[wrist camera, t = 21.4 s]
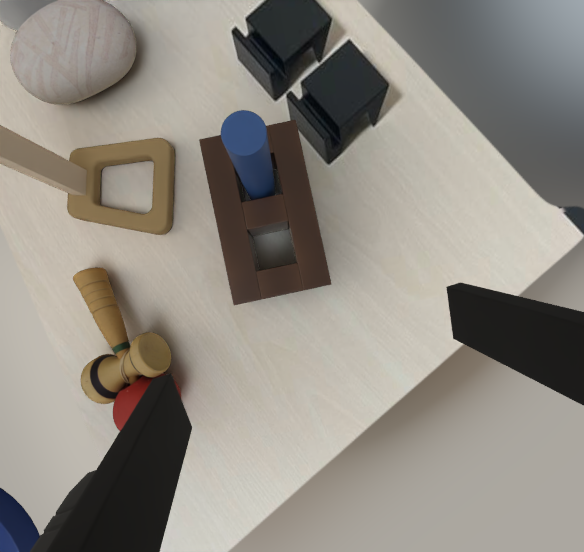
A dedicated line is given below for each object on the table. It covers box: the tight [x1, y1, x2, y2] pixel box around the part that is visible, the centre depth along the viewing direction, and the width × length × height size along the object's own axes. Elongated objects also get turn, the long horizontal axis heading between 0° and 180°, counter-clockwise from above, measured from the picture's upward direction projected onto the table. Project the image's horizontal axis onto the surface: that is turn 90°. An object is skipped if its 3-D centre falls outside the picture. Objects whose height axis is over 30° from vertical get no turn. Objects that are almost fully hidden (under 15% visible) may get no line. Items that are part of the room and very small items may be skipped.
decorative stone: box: [11, 0, 136, 105], centre depth 28 cm, size 13×9×5 cm
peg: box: [221, 110, 276, 200], centre depth 25 cm, size 3×3×12 cm
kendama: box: [73, 268, 181, 431], centre depth 28 cm, size 8×6×18 cm
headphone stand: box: [0, 125, 175, 235], centre depth 19 cm, size 10×11×22 cm
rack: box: [199, 120, 331, 305], centre depth 28 cm, size 10×17×4 cm, turn 12°
